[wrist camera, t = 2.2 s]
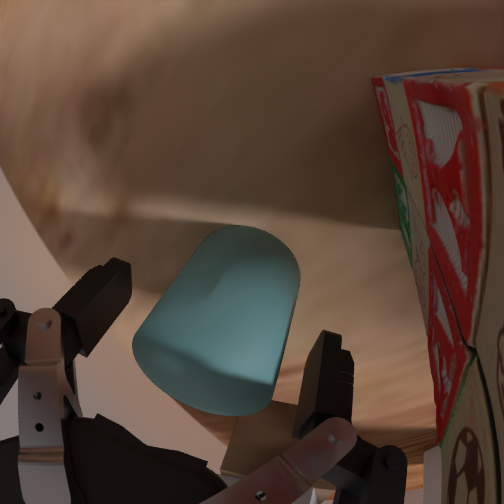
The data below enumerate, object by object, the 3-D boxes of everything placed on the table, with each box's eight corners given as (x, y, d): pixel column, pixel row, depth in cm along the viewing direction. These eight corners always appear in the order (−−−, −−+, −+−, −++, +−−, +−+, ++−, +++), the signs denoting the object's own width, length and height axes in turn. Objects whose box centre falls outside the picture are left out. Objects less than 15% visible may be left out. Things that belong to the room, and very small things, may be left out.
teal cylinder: (315, 246, 13) (293, 358, 8) (283, 326, 16) (254, 428, 11) (202, 211, 14) (126, 297, 9) (192, 295, 16) (137, 384, 11)
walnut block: (346, 411, 19) (335, 490, 14) (324, 448, 23) (312, 510, 18) (246, 393, 20) (219, 469, 15) (244, 434, 24) (224, 493, 19)
